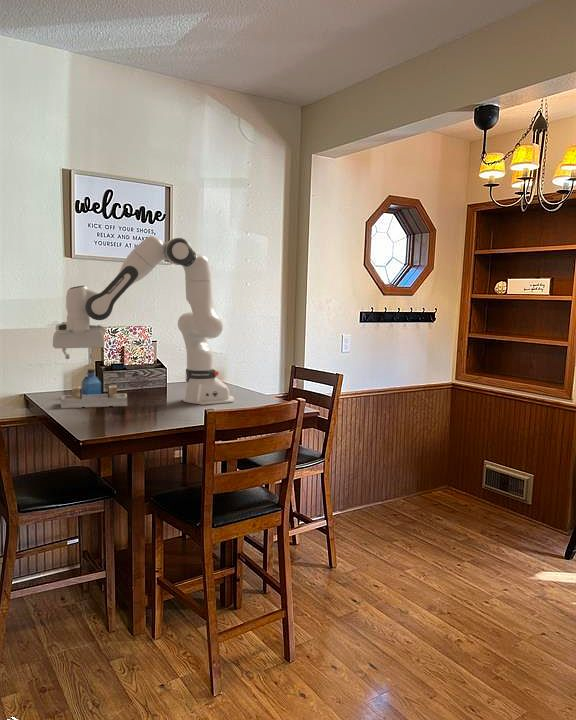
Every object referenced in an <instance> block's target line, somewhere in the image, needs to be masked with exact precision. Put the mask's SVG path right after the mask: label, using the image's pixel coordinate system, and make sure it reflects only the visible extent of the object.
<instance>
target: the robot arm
mask: <svg viewBox="0 0 576 720" xmlns="http://www.w3.org/2000/svg"><path fill="white" fill-rule="evenodd" d="M162 261H166V262H168V263H170V264H172V265H175V266H182V268H183V270H184V275H185V278H184V279H185V298H186V301H187V303H188V304H189V306H190V308H191V311H189V312H186V313H183V314H181V316H179V318H178V320H177V326H178V327H177V329H178V330H179V331H180V333H181V335H182V337H183V340H184V345H185V349H186V369H185V382H186V383H185V389H184V390H185V391H184V395H183V399H182V400H183V402H185V403H188V404H189V403H190V404H196V405H215V404H225V403H226V404H227V403H233V402H235V396H233V395H230V389H229V387H228V385H227V384H226V383H225V382H223V381H222V380H221V379H220V378H218V376H220V375H219V374H220V372H219V371H218V370H216V369H214V368H213V351H212V349H211V347H210V346H209V343H208V340H211V339H212V340H213V339H215V338H217V337H219V336H220V335H221V334H222V332H223V330H224V329H223V328H224V324H223V321H222V319H221V318H220V317H219V316H218V314H217V311H216V309H215V305H214V301H213V295H212V294H213V293H212V292H213V291H212V273H211V266H210V262H209V259H208V258H207V257H206V256H205V255H202V254H198V253H196V251H195V249H194V248H193V246H192V245H191V243H190V242H189V241H188V240H187V239H185V238H182V237H173V238H172V239H169V240H168V241H165V242H164V241H163V240H161V239H160V238H159V237H157V236H154V235H150V236H147V238H144V239H143V240H142V241H141V242H140V243H139V244H137V246H135V247H134V248H133V249H132V250H131V251H130V253H129V254H128V255H127V256H126V257H125V259H124V261H123V264H122V265H121V267H120V269H119V272H118V274H117V275H116V276H115V278H114V279H113V280H111V282H110V283H109V284H108V285H107V286H106V287H105V288H104V289H103V290H102V291H101V292H100V293H99V292H97V291H95V290H93V289H90V288H89V287H87V286H86V285H77V286H73V287H72V286H71V287H70V288H68V289H67V291H66V296H65V297H66V299H65V305H66V306H65V307H66V310H67V315H66V321H63V322H61V323H58V324H55V332H54V333H53V336H52V347H53V348H54V349H61V351H62V352H63V354H64V359H65V360H70V358H71V357H70V353H69V354H68V353H67V352H66V351H67V349H87V348H89V349H92V353H89V359H94V358H95V357H94V354H95V353H96V351H97V348H100V349H101V348H104V347H105V335H106V328H105V327H104V326H102V325H100V324H98V325H93V324H92V325H91V323H90V319H92V320H94V321H103V320H106V319H108V318H109V317H110V315H112V314H111V313H112V311H113V307H114V305H115V303H116V302H117V301H118V299H119V298H120V297H121V296H123V294H124V293H125V292H126V291H127V290H128V289H129V288H130V287H131V286H132V285H133V284H135V283H138V282H139V281H140V280H142V279H144V278H145V277H146V276H148V274H150V273H151V272H152V271H153V270H154V268H155V267H157V265H159V264H160V262H162Z"/></svg>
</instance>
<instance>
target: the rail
mask: <svg viewBox="0 0 576 720" xmlns="http://www.w3.org/2000/svg"><path fill="white" fill-rule="evenodd" d="M109 406H113V407H128V394H127V393H117V397H114V398H108V393H101V394H90V395H82V399H72V394H64V395H62V396H61V398H60V409H80V408H81V409H82V407H85V408H103V407H105V408H106V407H107V408H108V407H109ZM109 408H110V407H109Z"/></svg>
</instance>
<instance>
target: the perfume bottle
mask: <svg viewBox="0 0 576 720" xmlns="http://www.w3.org/2000/svg"><path fill="white" fill-rule="evenodd" d="M95 370H96V369H95V368H90V369H87V373H86V375H87V376H84V378H83V380H82V381H81V388H82V395H90V394H102V382H101V380H100V379H99V377H98V376H95V375H96V371H95Z"/></svg>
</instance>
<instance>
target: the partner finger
mask: <svg viewBox="0 0 576 720" xmlns="http://www.w3.org/2000/svg"><path fill="white" fill-rule="evenodd" d="M117 389H118V388H117V384H116V385H109V386H108V387H107V394H108V398H114V397H117V394H118V393H117Z"/></svg>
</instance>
